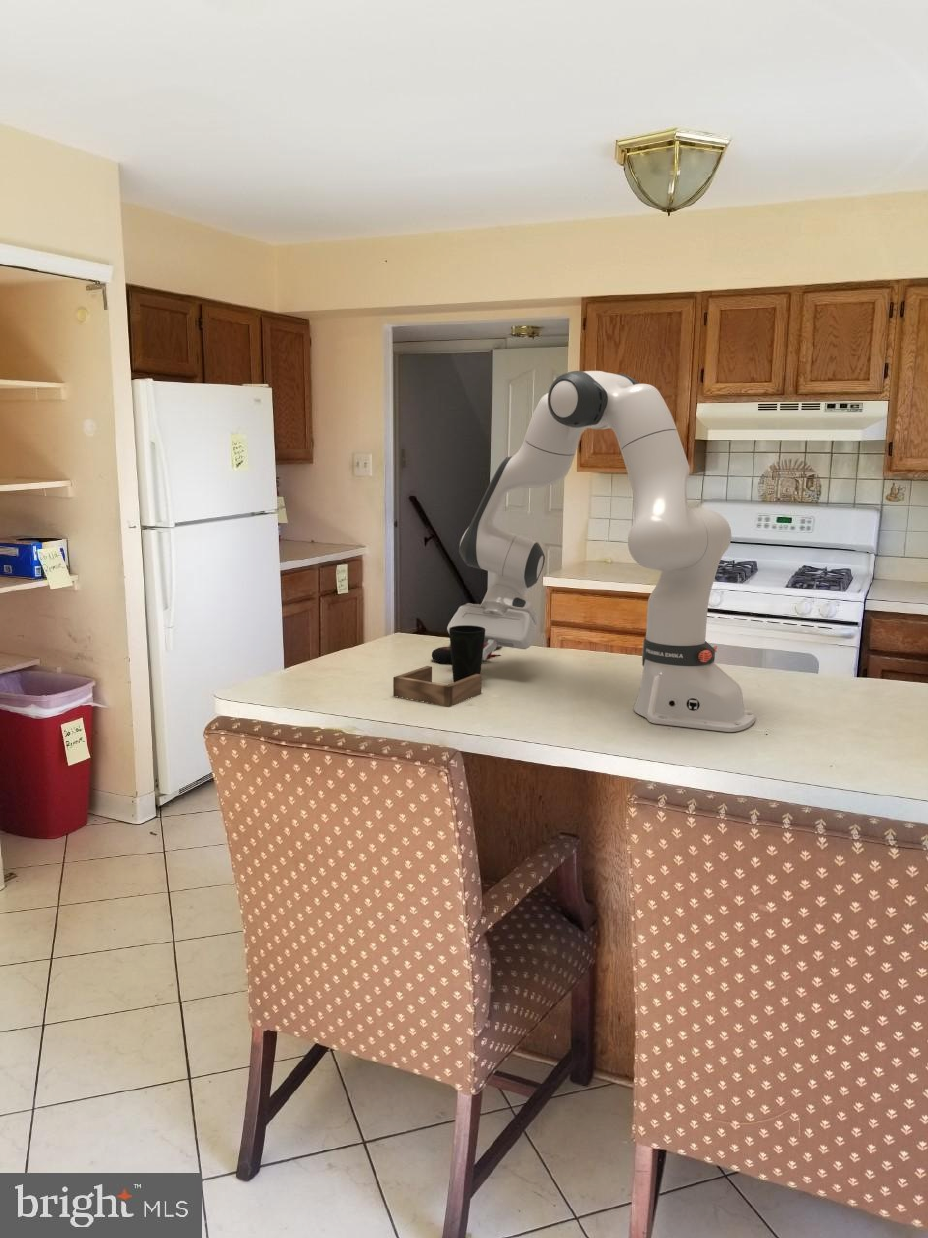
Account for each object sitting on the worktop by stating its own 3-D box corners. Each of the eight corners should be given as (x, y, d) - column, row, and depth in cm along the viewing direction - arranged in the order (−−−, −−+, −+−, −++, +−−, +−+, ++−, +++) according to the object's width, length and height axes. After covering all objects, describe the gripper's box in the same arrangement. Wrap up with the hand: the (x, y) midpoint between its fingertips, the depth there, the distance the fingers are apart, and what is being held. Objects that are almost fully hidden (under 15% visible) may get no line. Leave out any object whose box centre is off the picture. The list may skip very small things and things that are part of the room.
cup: (491, 682, 201) (492, 627, 199) (472, 690, 195) (473, 633, 193) (460, 677, 205) (461, 623, 203) (441, 684, 199) (442, 629, 197)
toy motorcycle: (429, 670, 218) (496, 664, 214) (426, 648, 218) (493, 641, 214) (455, 651, 242) (516, 645, 238) (452, 631, 242) (513, 625, 238)
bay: (481, 693, 192) (481, 674, 192) (449, 707, 182) (449, 687, 182) (427, 684, 199) (427, 665, 199) (393, 696, 189) (393, 677, 189)
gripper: (456, 594, 213) (432, 643, 206) (536, 603, 202) (513, 655, 196) (466, 610, 217) (443, 659, 211) (545, 620, 206) (523, 672, 200)
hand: (477, 657), depth 203 cm, fingers closed
